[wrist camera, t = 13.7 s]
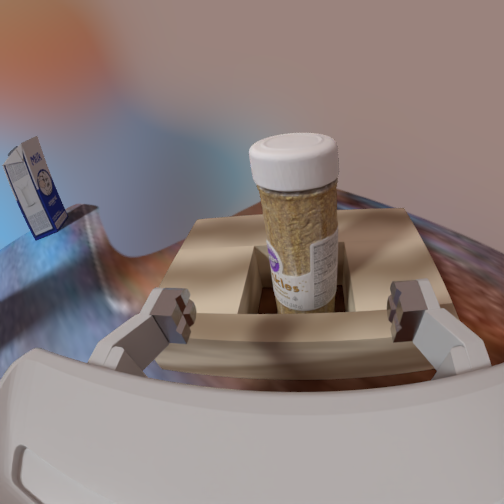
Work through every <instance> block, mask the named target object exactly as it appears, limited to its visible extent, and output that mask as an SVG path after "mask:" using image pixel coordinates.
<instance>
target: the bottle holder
mask: <svg viewBox="0 0 504 504" xmlns="http://www.w3.org/2000/svg"><path fill="white" fill-rule="evenodd" d="M337 221H338V265H337V285H342V286H343V294H344V303H345V312H337V313H308V314H258V309H259V303H260V298H261V292H262V287H273V282H272V275H271V268H270V261H269V254H268V248H267V242H266V239H267V234H266V229H265V222H264V217H263V214H260V215H246V216H233V217H221V218H210V219H198V220H197V221H196V222H195V224H194V226H193V228H192V230H191V231H190V232H189V234H188V236H187V238H186V239H185V241H184V243H183V244H182V246H181V248H180V250H179V251H178V253H177V255H176V257H175V258H174V260H173V262H172V264H171V266H170V267H169V269H168V271H167V273H166V275H165V276H164V278H163V280H162V282H161V284H160V286H159V287H158V288H186V289H188V291H189V293H190V298H189V299H190V300H191V301H193V302H194V304H195V306H196V311H197V312H196V320H195V323H194V324H193V325H192V326H191V327H190V330H191V334H190V337H189V339H188V342H187V344H176V343H169V345H168V346H167V347H166V348H165V349H164V350H163V351H162V352H161V353H160V354H159V355H158V356H157V357H156V358H155V361H156V362H157V363H158V365H159V366H160V367H161V368H162V369H166V370H172V371H179V372H187V373H195V374H203V375H213V376H223V377H236V378H251V379H275V380H324V379H348V378H363V377H375V376H385V375H394V374H402V373H410V372H417V371H424V370H430V369H435V368H434V367H433V366H432V365H431V363H430V362H429V361H428V360H427V359H426V357H425V356H424V355H423V354H422V353H421V351H420V350H419V349H418V348H417V347H416V346H415V344H414V343H413V341H409V342H397V343H393V340H392V335H391V330H390V328H391V325H392V323H391V322H390V321H389V320H388V316H387V300H388V297H389V296H390V295H391V291H390V286H391V283H392V281H403V280H416V279H424V278H427V279H428V280H429V281H430V284H431V286H432V288H433V291H434V293H435V296H436V298H437V300H438V303H439V305H440V308H444V309H446V310H447V311H448V312H449V313H451V314H452V315H453V316H454V317H456V318H457V319H458V320H459V318H458V315H457V313H456V310H455V308H454V305H453V303H452V300H451V298H450V296H449V293H448V291H447V289H446V287H445V284H444V282H443V280H442V278H441V276H440V274H439V272H438V270H437V267H436V265H435V263H434V261H433V259H432V257H431V255H430V254H429V252H428V250H427V248H426V246H425V244H424V242H423V240H422V238H421V237H420V235H419V233H418V231H417V229H416V228H415V226H414V224H413V222H412V221H411V219H410V217H409V216H408V214H407V212H406V211H405V209H404V208H386V209H353V210H337ZM459 321H460V320H459Z"/></svg>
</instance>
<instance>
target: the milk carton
mask: <svg viewBox="0 0 504 504" xmlns="http://www.w3.org/2000/svg"><path fill="white" fill-rule="evenodd" d="M8 156H9V157H8V159H7V160H6V161H5V163H4V164H3V168H4V171H5V173H6V176H7V179H8V181H9V184H10V186H11V189H12V191H13V194H14V196H15V198H16V201H17V203H18V205H19V208H20V210H21V212H22V214H23V216H24V218H25V221H26V223H27V225H28V227H29V229H30V231H31V233H32V235H33V237H34V238H35V240H39V239H41V238H43V237H46V236H48V235H51V234H53V233H55V232H58V230H59V229H60V227H61V226H62V225H63V223H64V222H65V220H66V219H67V218H68V215H67V213H66V211H65V209H64V206H63V204H62V202H61V199H60V197H59V195H58V192H57V190H56V187H55V185H54V182H53V180H52V177H51V174H50V172H49V169H48V167H47V164H46V161H45V158H44V155H43V152H42V149H41V146H40V143H39V140H38V137H37V136H36V137H34V138H31V139H29V140H27V141H25V142H23V143H21V144H20V145H19V146H16V147H15V148H14V149H13V150H12V151H10V153H9V154H8Z"/></svg>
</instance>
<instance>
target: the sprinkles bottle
mask: <svg viewBox="0 0 504 504" xmlns="http://www.w3.org/2000/svg"><path fill="white" fill-rule="evenodd" d="M249 157H250V164H251V169H252V175H253V180H254V182H255V183H256V184H257V188H258V190H259V193H260V198H261V204H262V209H263V217H264V222H265V229H266V234H267V239H266V242H267V248H268V254H269V261H270V268H271V275H272V282H273V289H274V294H275V298H276V304H277V311H278V312H277V314H308V313H335V309H334V308H335V293H336V288H337V265H338V221H337V192H336V186H337V177H338V175H339V158H338V146H337V143H336V141H335V140H334V139H332V138H331V137H328V136H326V135H322V134H316V133H289V134H282V135H276V136H272V137H268V138H265V139H262V140H260V141H258V142H256V143H255V144H253V145H252V147H251V148H250V150H249Z"/></svg>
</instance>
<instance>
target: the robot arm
mask: <svg viewBox="0 0 504 504" xmlns="http://www.w3.org/2000/svg"><path fill="white" fill-rule="evenodd" d="M390 291H391V295H390V296H389V297H388V300H387V316H388V320H389V321H390V322H391V323H392V325H391V328H390V330H391V335H392V340H393V343H397V342H409V341H413V343H414V344H415V346H416V347H417V348H418V349H419V350H420V351H421V353H422V354H423V355H424V356H425V357H426V359H427V360H428V361H429V362H430V363H431V365H432V366H433V367H434V368H435V369H436V371H437V372H436V374H435V375H434V377H433V378H432V380H431V381H426V382H420V383H413V384H407V385H400V386H392V387H383V388H374V389H363V390H349V391H329V392H269V391H249V390H235V389H223V388H213V387H204V386H196V385H189V384H182V383H175V382H169V381H163V380H158V379H152V378H148V377H147V376H146V375H145V374H144V372H143V370H144V369H145V368H146V367H147V366H148V365H149V364H150V363H151V362H152V361H153V360H154V359H155V358H156V357H157V356H158V355H159V354H160V353H161V352H162V351H163V350H164V349H165V348H166V347H167V346H168V345H169V343H176V344H187V342H188V339H189V337H190V334H191V330H190V327H191V326H192V325H193V324H194V323H195V320H196V312H197V311H196V306H195V304H194V302H193V301H191V300H190V299H189V298H190V293H189V291H188V289H186V288H154V289H153V290H152V292H151V293H150V295H149V297H148V299H147V301H146V303H145V304H144V306H143V308H142V310H141V312H140V314H136V315H135V316H133V317H132V318H131V319H129V320H128V321H127V322H125V323H124V324H122V325H121V326H120V327H118V328H117V329H116V330H114V331H113V332H112V333H110V334H109V335H107V336H106V337H105V338H103V339H102V340H101V341H99V342H98V344H97V346H96V348H95V349H94V351H93V353H92V355H91V357H90V359H89V361H88V363H85V362H81V361H78V360H74V359H71V358H68V357H65V356H62V355H59V354H56V353H53V352H50V351H47V350H45V349H42V348H34V349H32V350H31V351H29V352H27V353H26V354H24V355H23V356H21V357H20V358H19V359H17V360H16V361H15V362H13V363H12V365H11V366H10V367H9V368H8V370H7V371H6V372H5V374H4V375H3V377H2V379H1V380H0V504H504V363H501V364H498V365H494V366H492V365H491V362H490V359H489V356H488V353H487V351H486V348H485V345H484V342H483V340H482V339H481V338H479V337H478V336H477V335H476V334H475V333H474V332H472V331H471V330H470V329H469V328H468V327H466V326H465V325H464V324H463V323H462V322H460V321H459V320H458V319H457V318H456V317H454V316H453V315H452V314H451V313H449V312H448V311H447V310H446V309H444V308H440V305H439V303H438V300H437V298H436V296H435V293H434V291H433V288H432V286H431V284H430V281H429V280H428V279H427V278H424V279H416V280H403V281H392V283H391V286H390Z"/></svg>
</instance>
